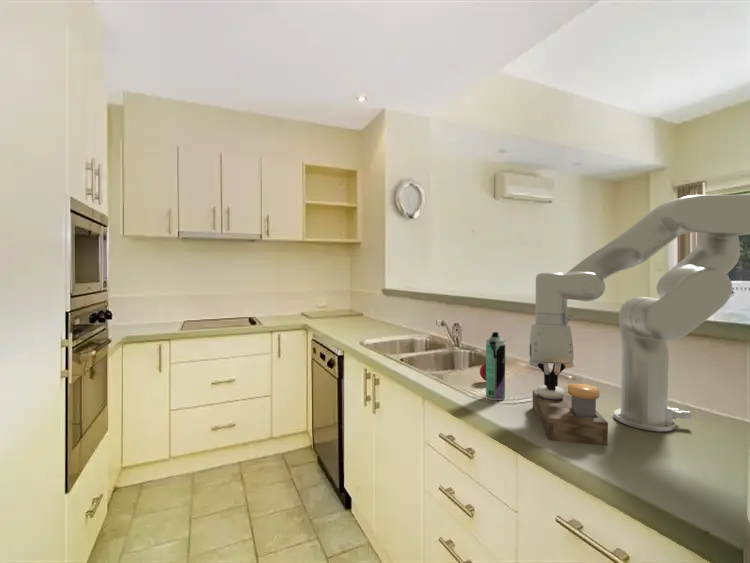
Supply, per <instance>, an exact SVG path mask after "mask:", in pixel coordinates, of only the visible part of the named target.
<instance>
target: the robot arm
mask: <svg viewBox="0 0 750 563" xmlns="http://www.w3.org/2000/svg"><path fill="white" fill-rule="evenodd" d="M690 233H691V234H692V233H698V234H697V235H698V241H697V245H696V246H695V247H694V249H693V250H691V252H689V254H687V255H686V256H685V257H684V258H683V259H682V260H680V262H678V263H677V264H675V265H674V266H673V267H672V268H671V269H670V270H668V271H667V272H666V273H664V274H663V275H662V276H661V278H660V279H659V280H658V282H657V284H656V293H657V294H658V296H659V297H660V298H657V297H650V296H637V297H632V298H630V299H628V300H626V301H625V302H624V303H623V304H622V305H621V307H620V309H619V313H618V323H619V324H618V325H619V330H620V337H621V377H620V378H621V380H620V381H621V384H620V385H621V386H620V388H621V389H620V390H621V391H620V393H621V394H620V395H621V396H620V397H621V398H620V407H619V408H617V409H615V410H614V411H613V417H614V419H616V420H617V421H618V422H620V423H622V424H623V425H626V426H629V427H632V428H635V429H639V430H645V431H650V432H661V433H662V432H670V431H673V430H675V429H676V421H674V420H677V419H680V420H692V413H691V411H689V410H688V411H686V410H680V409H679V408H676V407H670V406H669V405H668V402H669V401H668V400H669V399H668V397H669V393H668V392H669V360H670V358H669V346H668V342H674V341H678V340H680V339H682V338H685V337H687V335H690V334H691V332H693V331H694V330H696V329H697V328H698V327H699V326H701V325H702V324H703V323H704V322H705V321H707V320H708V319H710V318H711V317H712V316H713V315H714V314H716V313H717V312H718V311H719V310H721V308H723V307H725V305H726V304H727V302H728V301H729V300H730V298H731V295H732V292H733V283H732V280H731V278H730V277H729V275H727V274H729V272H730V271H731V270H732V269H733V268H734V267H735V266H737V263H738V262H739V259H740V255H741V253H740V252H741V248H740V246H741V245H740V238H739V236H746V235H750V194H693V195H686V196H685V195H684V196H682V197H679V198H675V199H672V200H668V201H666V202H663V203H661V204H659V205H658V206H657V207H655V208H654V209H652V210H650V212H649V213H647V214H646V215H645V216H643V217H642V218H641V219H639V220H638V221H637V222H636V223H634V224H633V225H632V226H631V227H629V228H628V229H627V230H625V231H623V232H622V233H621V234H620V235H619V236H617V237H616V238H614V239H613V240H611V241H609V242H608V243H606V244H605V245H603V247H601V248H599V249H598V250H596V251H595V252H593V253H592V254H590V255H588V256H587V257H585V258H584V259H583V260H582V261H580V262H578V263H577V264H576V265H574V267H572V268H571V269H570V270H568V271H567V272H566V273H563V272H541V273H538V274H537V275H536V276H535V323H532V324H531V329H530V332H529V333H530V334H529V346H528V349H529V350H528V352H529V353H528V355H529V360H528V364H529V366H532V367H535V368H538V369H540V370H541V371H542V372H543V373H544V374H543V385H545V386H546V387H547V388H548V390H556V387H559V386H558V384H559V380H558V379H559V377H558V376H559V375H560V373H562V372H563V371H564V370H566V369H571V368H574V366H575V365H574V343H573V336H572V330H571V326H570V324H569V322H570V321H574V315H570V314H569V313H568V300H571V301H572V300H573V301H578V302H579V301H580V302H592V301H596V300H598V299H600V298H601V297H602V296H603V294H604V293H605V291H606V284H605V281H604V280H605V279H607V278H609V277H611V276H612V275H614V274H616V273H619V272H621V271H624V270H628V269H631V268H634V267H636V266H639V265H640V264H642V263H644V262H647V261H648V260H649V259H650V258H651V257H652V256H654V255H656V253H658V252H659V251H660V250H662V249H663V248H665V247H666V246H667V245H669V244H670V243H671V242H673V241H674V240H676V239H677V238H678V237H679V236H681V235H683V234H685V235H686V234H690ZM549 364H552V370H551V371H550V366H549Z"/></svg>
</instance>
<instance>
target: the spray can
mask: <svg viewBox="0 0 750 563" xmlns="http://www.w3.org/2000/svg"><path fill="white" fill-rule="evenodd" d="M505 342H506V341H505V340H504V339H503V338H502V337H501V336H500V334H499V332H498V331H494V332H492V335H490V337H489V338H487V339H486V340H485V363H486V381H485V398H486V397H487V398H489V399H492V400H503V401H505V400H506V343H505ZM487 398H486V399H487ZM489 399H488V400H489ZM504 399H505V400H504ZM492 400H491V401H492Z"/></svg>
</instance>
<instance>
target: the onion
mask: <svg viewBox="0 0 750 563" xmlns="http://www.w3.org/2000/svg"><path fill="white" fill-rule="evenodd" d="M479 375H480V377H481V378H482V379H483V380H484V382H486V362H485V363H483V364H482V365H481V367H480V369H479Z"/></svg>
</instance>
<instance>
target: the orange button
mask: <svg viewBox="0 0 750 563" xmlns="http://www.w3.org/2000/svg"><path fill="white" fill-rule="evenodd" d="M567 392H568V393H569V394H570V395H572V401H571V412H572V413H573V415H574V416H580V417H593V418H596V411H597V410H596V409H597V406H596V405H597V399H599V398H600V388H599V387H597V386H595V385H591V384H587V383H576V382H574V383H569V384H567Z"/></svg>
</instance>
